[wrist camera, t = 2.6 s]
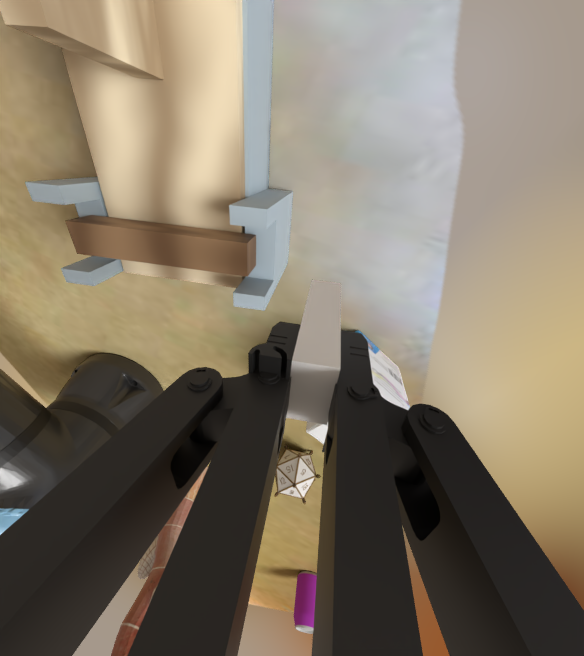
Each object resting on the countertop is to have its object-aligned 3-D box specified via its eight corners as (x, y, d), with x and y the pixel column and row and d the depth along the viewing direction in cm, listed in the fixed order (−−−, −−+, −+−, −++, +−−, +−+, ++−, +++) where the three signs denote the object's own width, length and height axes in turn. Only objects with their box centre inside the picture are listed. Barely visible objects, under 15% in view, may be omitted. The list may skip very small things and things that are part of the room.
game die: (309, 437, 53) (330, 492, 48) (270, 454, 53) (287, 511, 48) (302, 431, 45) (326, 496, 40) (256, 451, 45) (275, 518, 40)
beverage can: (304, 579, 88) (299, 633, 78) (293, 569, 84) (287, 625, 74) (325, 579, 85) (323, 635, 75) (315, 569, 82) (312, 627, 72)
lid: (137, 265, 26) (45, 314, 18) (9, -253, 12) (-655, -1086, 4) (248, 280, 25) (205, 339, 17) (243, -260, 12) (-2, -1348, 3)
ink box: (311, 362, 38) (302, 432, 28) (358, 328, 34) (366, 396, 24) (352, 395, 40) (356, 470, 30) (400, 367, 36) (423, 443, 26)
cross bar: (100, 245, 23) (77, 253, 21) (91, 214, 22) (65, 220, 20) (256, 265, 22) (247, 276, 20) (256, 234, 21) (246, 243, 19)
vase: (187, 478, 62) (85, 694, 37) (176, 460, 58) (54, 687, 33) (229, 482, 60) (151, 713, 35) (221, 464, 56) (128, 708, 31)
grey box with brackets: (149, 247, 32) (67, 285, 22) (65, -140, 18) (-258, -496, 8) (287, 265, 31) (264, 314, 21) (317, -139, 16) (288, -562, 7)
